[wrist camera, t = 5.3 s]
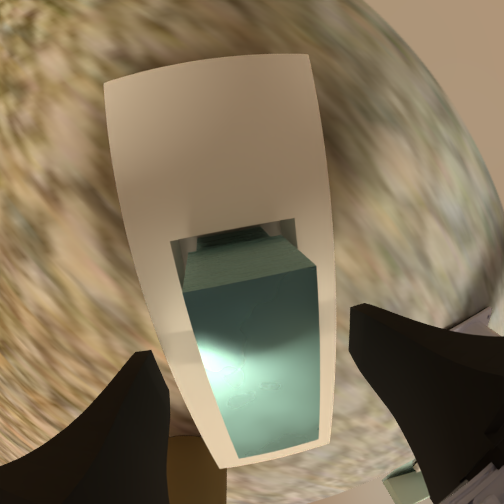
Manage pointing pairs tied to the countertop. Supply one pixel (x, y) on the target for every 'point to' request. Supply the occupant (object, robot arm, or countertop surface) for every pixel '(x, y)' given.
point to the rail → (221, 197)
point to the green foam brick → (257, 336)
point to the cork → (194, 473)
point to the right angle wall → (406, 484)
